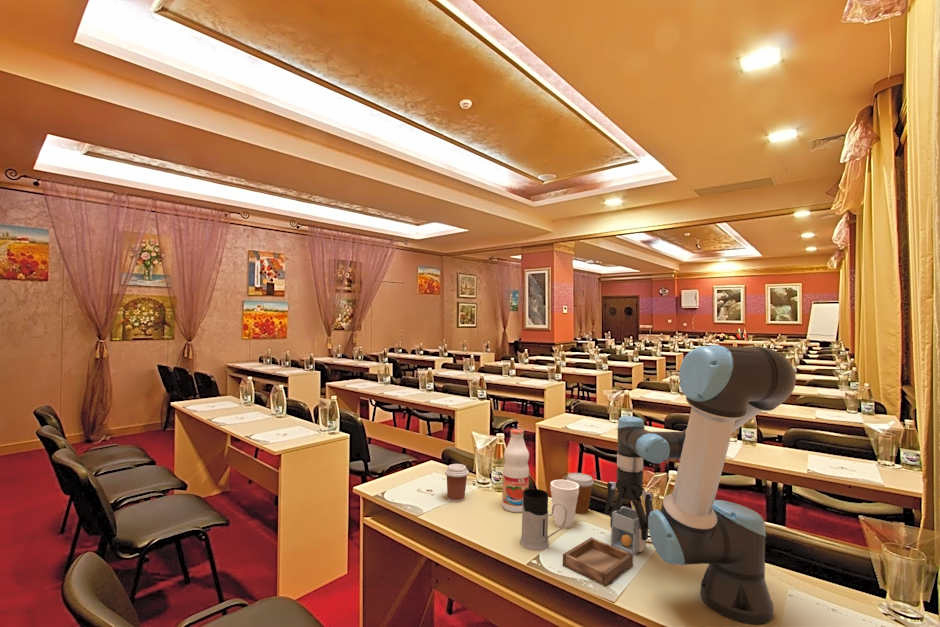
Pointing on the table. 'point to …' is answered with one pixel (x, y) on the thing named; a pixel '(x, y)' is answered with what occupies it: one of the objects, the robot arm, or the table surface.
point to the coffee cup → (456, 482)
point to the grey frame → (625, 529)
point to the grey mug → (536, 519)
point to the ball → (626, 540)
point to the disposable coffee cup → (582, 490)
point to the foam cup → (564, 501)
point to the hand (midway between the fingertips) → (628, 544)
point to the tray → (598, 561)
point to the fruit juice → (515, 472)
